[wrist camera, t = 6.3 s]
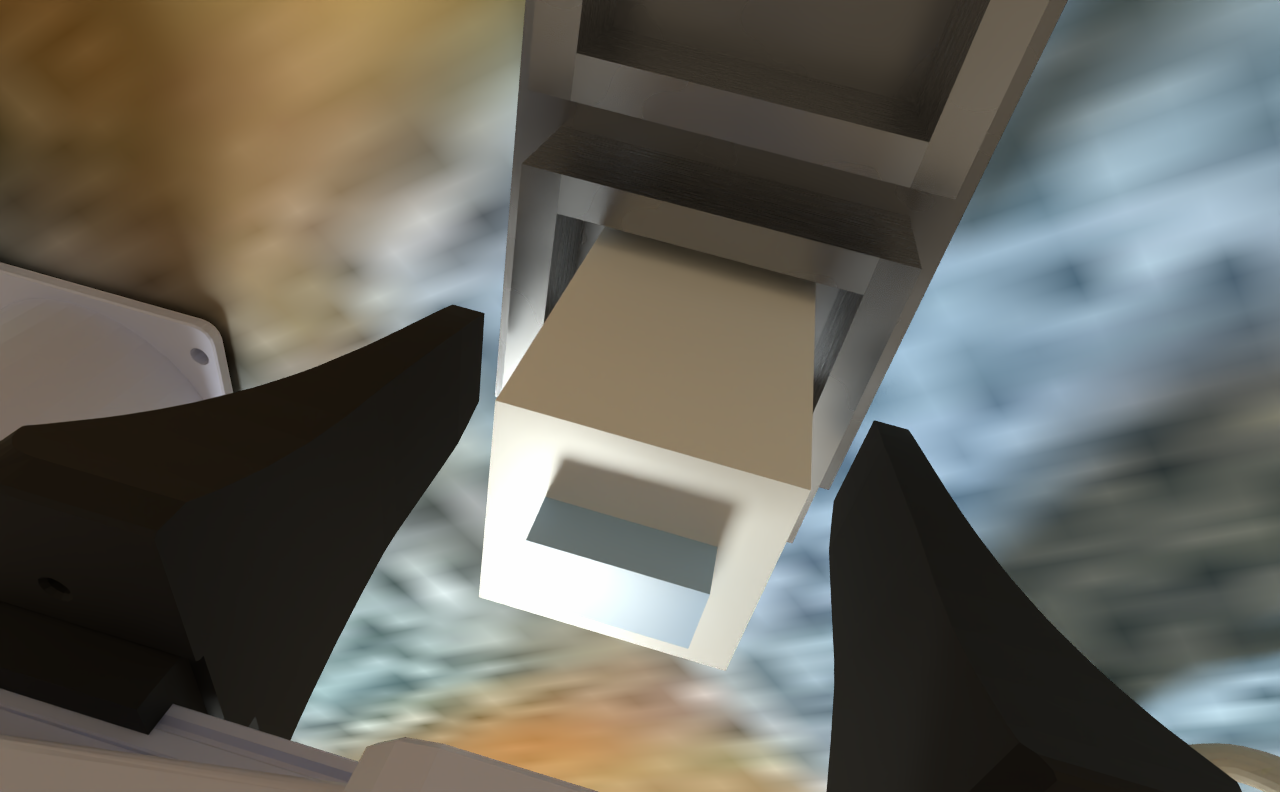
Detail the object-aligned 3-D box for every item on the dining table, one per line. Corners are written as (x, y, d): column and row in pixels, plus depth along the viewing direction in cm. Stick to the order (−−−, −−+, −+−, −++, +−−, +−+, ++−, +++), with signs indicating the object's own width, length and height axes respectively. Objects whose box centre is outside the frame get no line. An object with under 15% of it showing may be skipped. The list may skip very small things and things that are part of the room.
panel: (828, 476, 18) (828, 560, 16) (501, 384, 19) (458, 454, 16) (1248, -397, 9) (1388, -488, 7) (579, -536, 9) (503, -664, 7)
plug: (758, 406, 17) (719, 719, 11) (592, 359, 17) (458, 639, 11) (816, 250, 14) (809, 538, 8) (622, 199, 14) (469, 440, 8)
